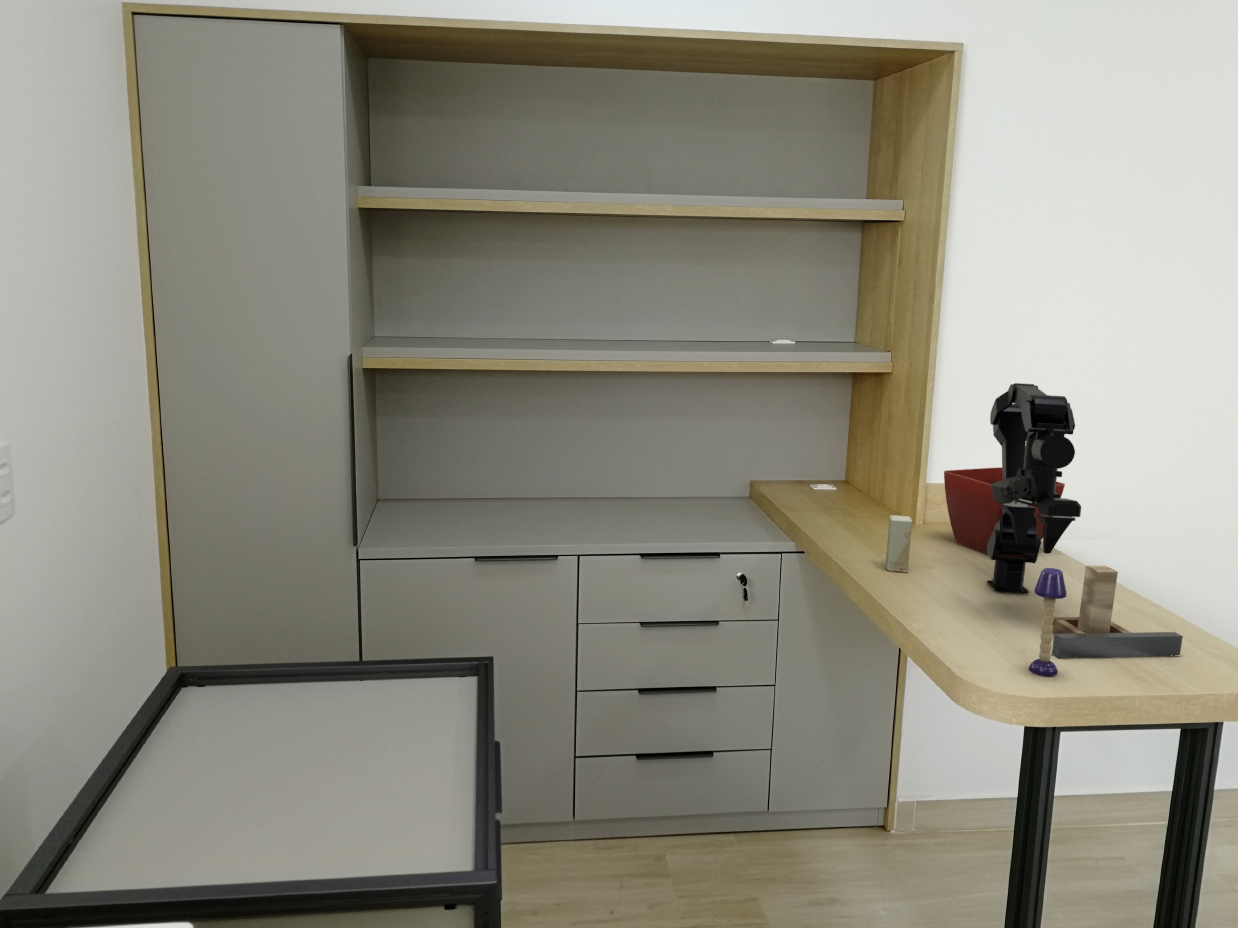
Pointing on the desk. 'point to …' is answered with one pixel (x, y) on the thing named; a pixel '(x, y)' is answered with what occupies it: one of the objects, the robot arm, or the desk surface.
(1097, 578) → the wooden square post
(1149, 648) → the rail
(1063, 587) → the toy lamp
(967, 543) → the plant pot
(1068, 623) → the collar
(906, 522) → the box
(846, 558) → the desk surface
